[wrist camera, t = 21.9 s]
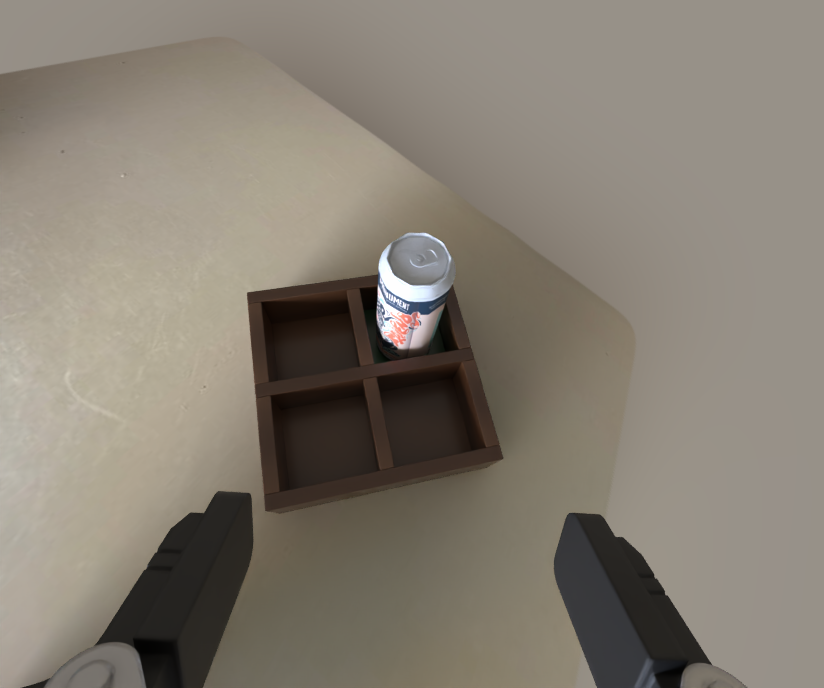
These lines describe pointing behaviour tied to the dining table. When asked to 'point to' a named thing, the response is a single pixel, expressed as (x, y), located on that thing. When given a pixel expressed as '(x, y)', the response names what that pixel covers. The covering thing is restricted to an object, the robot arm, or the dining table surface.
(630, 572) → the robot arm
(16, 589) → the dining table surface
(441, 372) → the compartment tray
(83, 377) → the dining table surface
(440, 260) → the beer can
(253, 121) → the dining table surface
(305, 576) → the dining table surface
